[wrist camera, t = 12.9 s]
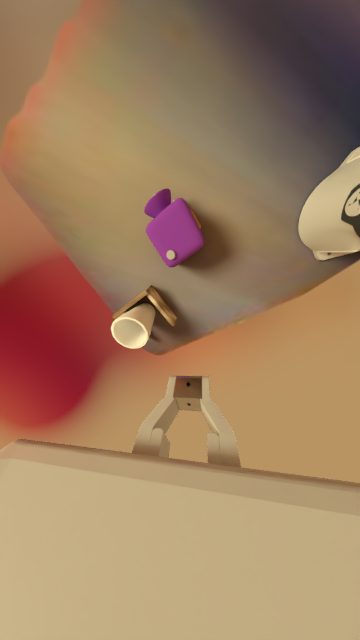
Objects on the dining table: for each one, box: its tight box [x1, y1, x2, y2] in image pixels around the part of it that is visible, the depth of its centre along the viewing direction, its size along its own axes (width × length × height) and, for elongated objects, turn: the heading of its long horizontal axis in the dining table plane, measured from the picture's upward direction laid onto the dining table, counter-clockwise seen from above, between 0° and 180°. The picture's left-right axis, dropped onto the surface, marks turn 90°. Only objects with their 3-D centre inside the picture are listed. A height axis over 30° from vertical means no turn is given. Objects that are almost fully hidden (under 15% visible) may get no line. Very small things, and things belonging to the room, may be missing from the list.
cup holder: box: [112, 285, 177, 327], centre depth 43 cm, size 13×14×6 cm
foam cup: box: [111, 303, 155, 349], centre depth 39 cm, size 10×9×13 cm
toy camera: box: [144, 189, 204, 267], centre depth 29 cm, size 11×14×10 cm
